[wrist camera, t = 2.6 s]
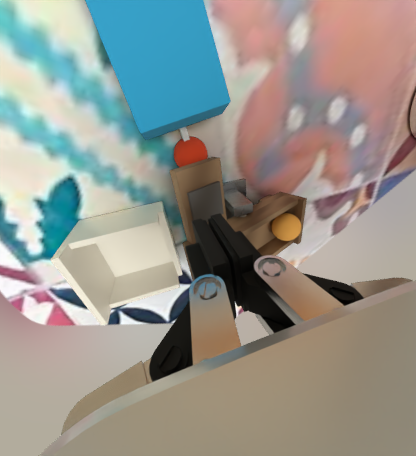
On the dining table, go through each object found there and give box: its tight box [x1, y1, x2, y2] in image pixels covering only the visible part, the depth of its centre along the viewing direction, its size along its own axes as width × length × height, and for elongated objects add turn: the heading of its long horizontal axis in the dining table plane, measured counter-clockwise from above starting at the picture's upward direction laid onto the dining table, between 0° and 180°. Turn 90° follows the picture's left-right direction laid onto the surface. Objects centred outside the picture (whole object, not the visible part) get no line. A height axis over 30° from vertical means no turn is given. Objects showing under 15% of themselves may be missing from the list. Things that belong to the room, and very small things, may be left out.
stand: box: [223, 179, 253, 219], centre depth 23 cm, size 5×10×6 cm, turn 10°
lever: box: [85, 0, 230, 167], centre depth 15 cm, size 7×7×18 cm
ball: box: [272, 213, 301, 241], centre depth 22 cm, size 3×3×3 cm
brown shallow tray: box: [170, 157, 307, 281], centre depth 19 cm, size 14×12×5 cm
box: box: [51, 201, 183, 326], centre depth 21 cm, size 9×9×7 cm
